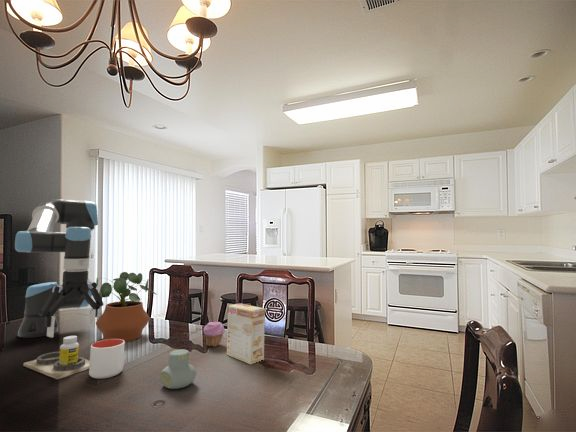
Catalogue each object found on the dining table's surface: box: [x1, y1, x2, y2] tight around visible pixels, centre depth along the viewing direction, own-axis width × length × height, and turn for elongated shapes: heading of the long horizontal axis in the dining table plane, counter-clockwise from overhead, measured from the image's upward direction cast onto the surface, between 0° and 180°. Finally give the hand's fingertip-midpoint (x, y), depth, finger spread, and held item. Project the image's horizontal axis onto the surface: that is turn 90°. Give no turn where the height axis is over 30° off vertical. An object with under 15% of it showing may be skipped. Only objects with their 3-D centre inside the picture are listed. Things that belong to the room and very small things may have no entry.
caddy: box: [22, 351, 90, 380], centre depth 113 cm, size 13×22×2 cm, turn 62°
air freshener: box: [159, 348, 197, 390], centre depth 100 cm, size 11×8×10 cm
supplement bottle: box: [59, 335, 80, 365], centre depth 111 cm, size 5×5×10 cm
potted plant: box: [95, 271, 157, 343], centre depth 151 cm, size 23×28×30 cm
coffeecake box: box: [226, 302, 266, 365], centre depth 125 cm, size 15×7×20 cm, turn 47°
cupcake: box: [203, 321, 225, 348], centre depth 139 cm, size 9×9×10 cm
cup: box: [88, 339, 126, 380], centre depth 108 cm, size 10×10×10 cm
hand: (71, 331), depth 112 cm, fingers open, 13 cm apart
